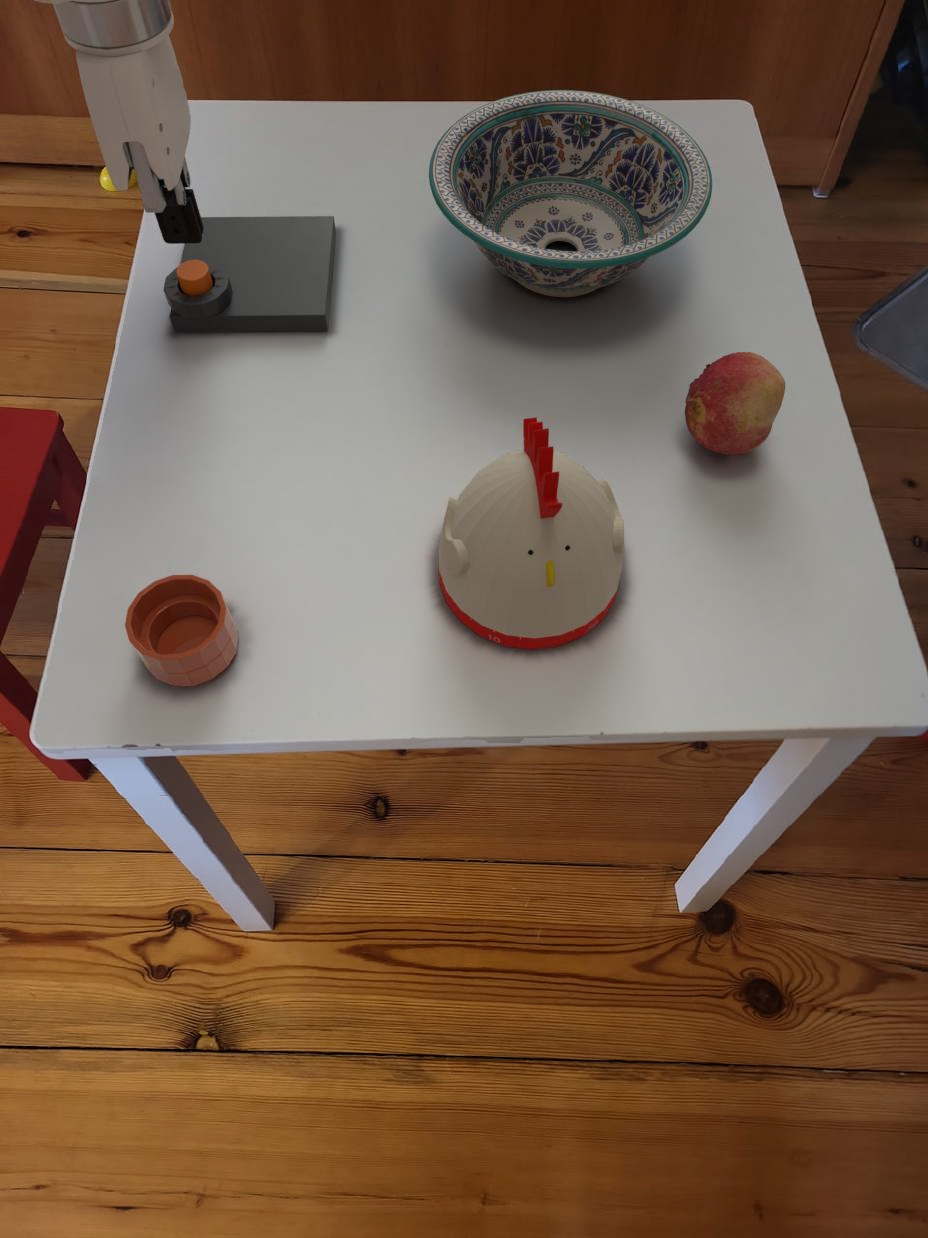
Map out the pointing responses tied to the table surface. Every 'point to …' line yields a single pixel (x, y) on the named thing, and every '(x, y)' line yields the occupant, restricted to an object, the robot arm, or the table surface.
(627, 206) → the bowl
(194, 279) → the button
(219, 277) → the scale
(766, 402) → the fruit
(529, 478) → the kitchen timer
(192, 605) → the terracotta bowl
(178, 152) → the robot arm
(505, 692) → the table surface
